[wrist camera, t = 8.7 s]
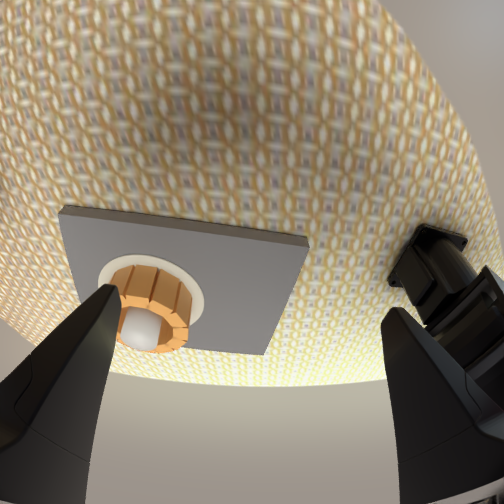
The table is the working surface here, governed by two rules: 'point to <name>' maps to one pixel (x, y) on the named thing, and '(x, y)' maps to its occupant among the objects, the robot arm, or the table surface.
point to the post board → (189, 273)
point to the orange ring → (156, 302)
